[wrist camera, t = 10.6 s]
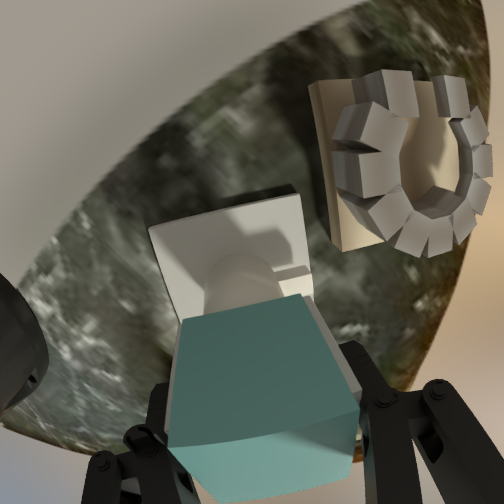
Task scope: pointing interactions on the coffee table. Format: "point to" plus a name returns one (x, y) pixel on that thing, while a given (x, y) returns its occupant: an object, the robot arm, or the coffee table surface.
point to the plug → (259, 388)
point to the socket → (401, 160)
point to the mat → (227, 245)
